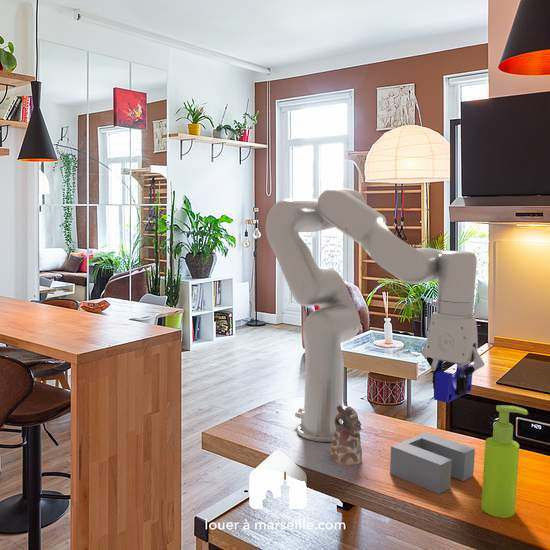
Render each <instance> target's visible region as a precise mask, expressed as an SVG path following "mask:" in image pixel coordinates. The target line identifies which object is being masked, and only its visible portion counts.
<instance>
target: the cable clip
mask: <svg viewBox="0 0 550 550" xmlns="http://www.w3.org/2000/svg"><path fill="white" fill-rule="evenodd" d="M469 365H470V366H472V365H473V364H471V363H469ZM457 377H459V369H458V364H456V370H455V373H450V372H446V371H444V372H443V371H437V372H436V375H435V389H433V390H434V391H433V392H434V394H433V400H434V401H438V402H442V403H445V404H448V403H451V402H452V401H454V400H456V399H458V398H460V397H462V396H464V395H466V394H468V393H470V392H471V391H472V384H473V383H472V382H473V373H472V374H471V375H470V376H468V387H467V391H466V393H465V394H463V395H460V396H458V395H456V382H457Z"/></svg>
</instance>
